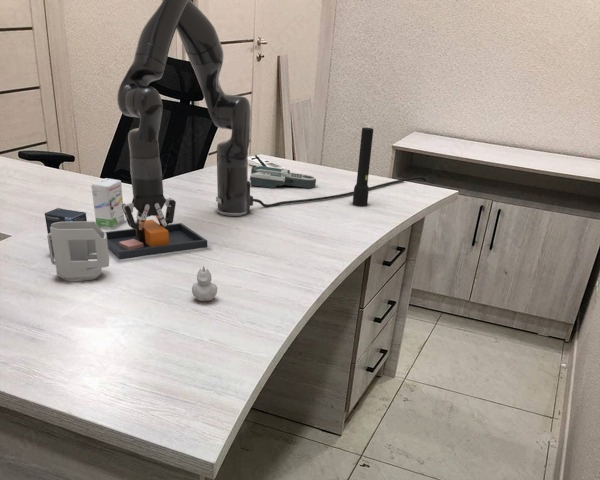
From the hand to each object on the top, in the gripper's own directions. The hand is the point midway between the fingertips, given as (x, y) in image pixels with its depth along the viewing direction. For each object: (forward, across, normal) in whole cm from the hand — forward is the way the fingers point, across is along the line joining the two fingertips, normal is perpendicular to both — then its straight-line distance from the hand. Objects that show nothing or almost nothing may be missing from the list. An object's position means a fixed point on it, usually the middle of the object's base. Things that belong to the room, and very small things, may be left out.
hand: (152, 241), depth 164 cm
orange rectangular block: (+1, 0, 0) cm, 1 cm away
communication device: (+3, +68, +45) cm, 82 cm away
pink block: (0, -6, 0) cm, 6 cm away
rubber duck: (+1, -3, -38) cm, 38 cm away
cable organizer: (+1, -22, -15) cm, 26 cm away
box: (+1, -21, +1) cm, 21 cm away
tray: (+1, 0, 0) cm, 1 cm away
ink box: (+1, -4, +22) cm, 23 cm away
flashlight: (+3, +79, +13) cm, 80 cm away
